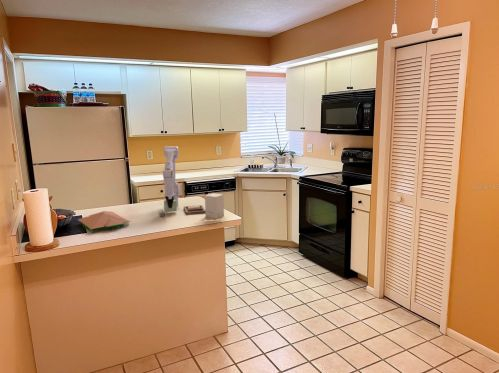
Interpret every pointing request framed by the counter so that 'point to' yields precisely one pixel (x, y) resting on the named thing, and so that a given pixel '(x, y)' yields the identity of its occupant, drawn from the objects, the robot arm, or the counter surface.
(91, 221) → the green-backed flat pad
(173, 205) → the pale green rectangular block
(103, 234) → the counter surface
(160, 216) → the charcoal mat
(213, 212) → the supplement box
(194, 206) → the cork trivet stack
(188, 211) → the walnut rack
